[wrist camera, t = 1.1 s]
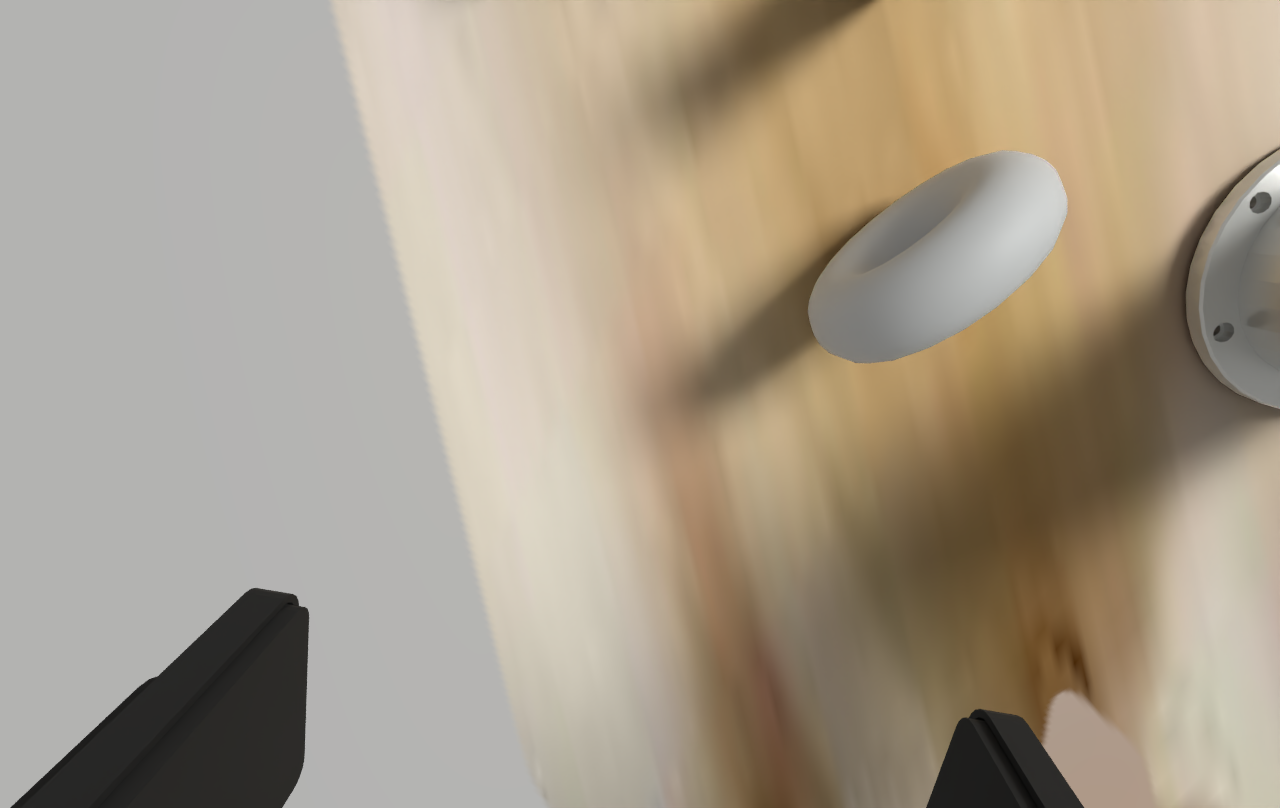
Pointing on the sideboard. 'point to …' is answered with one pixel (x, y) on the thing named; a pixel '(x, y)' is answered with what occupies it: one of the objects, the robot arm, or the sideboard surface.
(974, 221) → the donut
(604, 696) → the sideboard surface
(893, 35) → the sideboard surface
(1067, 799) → the robot arm
